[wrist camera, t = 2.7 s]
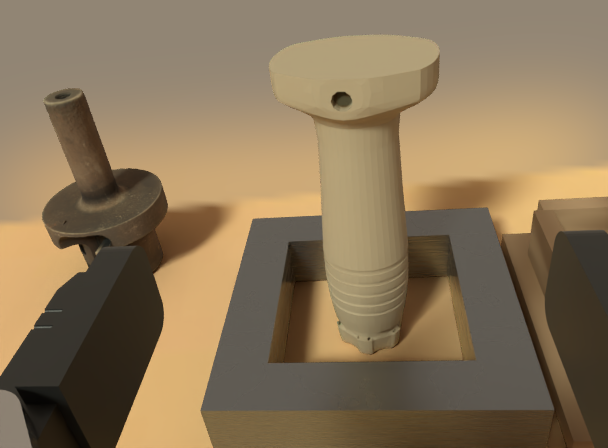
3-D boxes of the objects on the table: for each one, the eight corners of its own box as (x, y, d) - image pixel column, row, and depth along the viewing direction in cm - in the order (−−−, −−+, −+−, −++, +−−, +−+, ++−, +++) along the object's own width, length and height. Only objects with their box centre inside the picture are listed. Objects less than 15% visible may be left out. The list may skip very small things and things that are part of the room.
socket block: (484, 248, 35) (487, 207, 33) (544, 455, 23) (554, 409, 22) (260, 256, 37) (252, 218, 35) (215, 453, 25) (200, 411, 23)
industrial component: (105, 230, 41) (43, 71, 35) (197, 230, 40) (152, 65, 33) (35, 322, 34) (-62, 143, 27) (146, 327, 32) (73, 138, 26)
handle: (322, 298, 33) (289, 38, 24) (436, 308, 31) (443, 31, 22) (301, 362, 29) (252, 81, 20) (429, 377, 27) (435, 77, 19)
